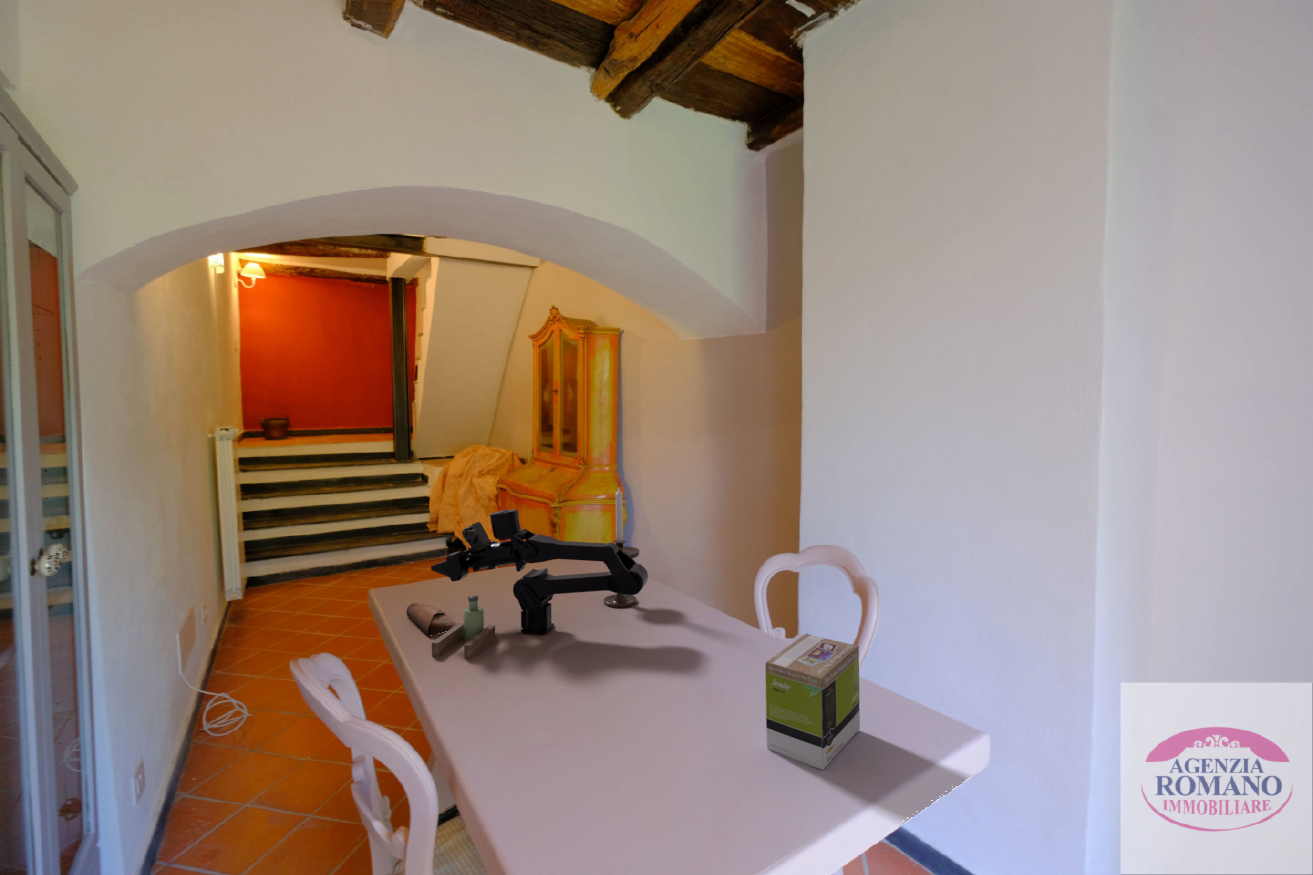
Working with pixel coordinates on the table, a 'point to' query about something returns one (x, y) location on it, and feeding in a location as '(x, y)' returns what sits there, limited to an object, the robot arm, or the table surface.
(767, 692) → the tea box
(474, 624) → the bottle
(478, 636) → the cradle
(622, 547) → the candlestick
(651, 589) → the table surface
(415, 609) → the sunglasses case
